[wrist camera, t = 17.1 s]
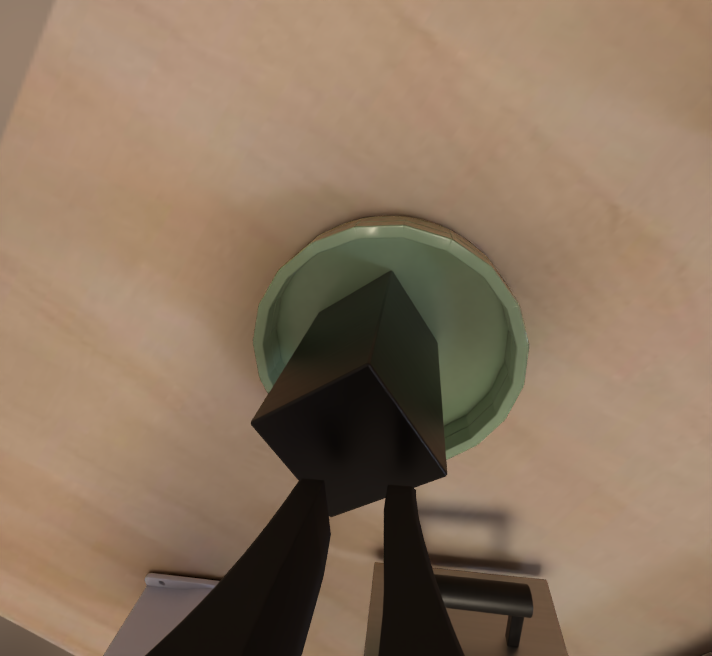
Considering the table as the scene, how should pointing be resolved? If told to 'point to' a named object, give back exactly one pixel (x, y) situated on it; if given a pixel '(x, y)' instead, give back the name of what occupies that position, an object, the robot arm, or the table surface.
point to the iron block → (360, 399)
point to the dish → (430, 297)
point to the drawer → (486, 614)
